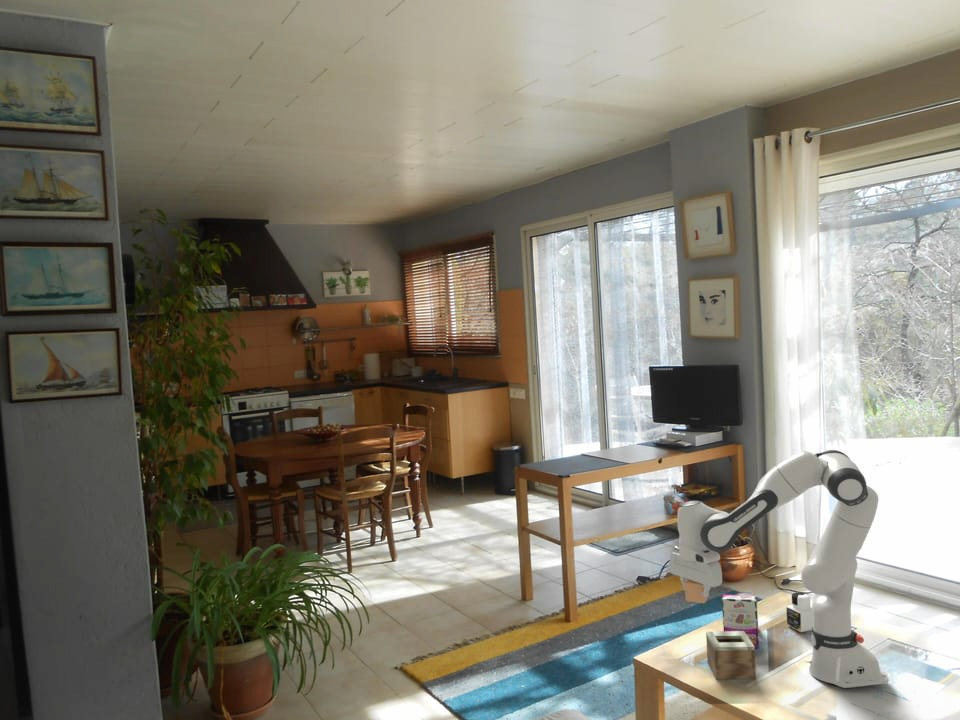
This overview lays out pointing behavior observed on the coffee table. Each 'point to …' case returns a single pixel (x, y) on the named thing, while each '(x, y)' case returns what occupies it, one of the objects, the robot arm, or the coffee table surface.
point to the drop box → (731, 655)
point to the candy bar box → (741, 615)
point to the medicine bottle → (800, 612)
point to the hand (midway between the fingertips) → (696, 593)
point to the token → (694, 591)
